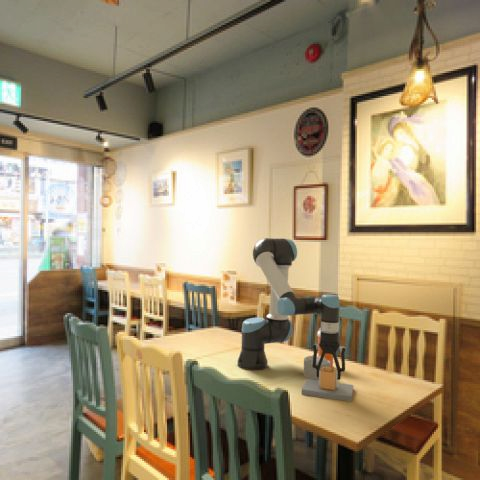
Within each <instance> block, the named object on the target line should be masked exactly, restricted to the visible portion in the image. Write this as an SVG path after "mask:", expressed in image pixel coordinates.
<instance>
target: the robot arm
mask: <svg viewBox="0 0 480 480" xmlns="http://www.w3.org/2000/svg"><path fill="white" fill-rule="evenodd" d="M252 249H253V250H252V259H253V261H254V263H255V265H256V266H257V267H259V268H260V269H261V271H262V273H263V275H264V278H266V280H267V281H268V283H269V285H270V297H269V313H268V314H267V315H266V317H265V318H263V317H251V318H246V319H245V320H244V321H243V322H242V325H241V350H240V354H239V357H238V358H237V366H238V367H239V368H241V369H243V370H249V371H250V370H251V371H252V370H253V371H256V370H257V371H258V370H264V369H266V368H267V367H268V359H267V355H266V352H265V345H266V344H275V343H276V344H277V343H280V344H281V343H284V342H285V343H286V342H288V341H290V339H291V337H292V335H293V330H294V328H293V327H294V326H293V325H292V324H293V323H292V321H291V320H290V319H289V318H290V317H291V316H297V315H298V316H299V315H313V314H314V315H319V316H320V327H321V330H322V331H321V335H320V343H319V344H318V343H313V345H312V348H313V354H312V355H313V365H312V367H313V368H315V369H316V370H317V377H319V386H320V373H321V369H320V366H321V364H322V361H323V358H324V355H325V354H332V355H333V362H334V364H335V367H336V368H335V369H337V371H336V380H335V388H337V387H338V383H339V382H338V381H339V380H341V375H342V372H343V373H344V372H345V371H346V362H345V361H346V356H345V355H346V354H345V352H346V346H342V345H340V343H339V340H340V339H339V338H340V337H339V336H340V334H339V330H340V329H339V328H340V308H341V306H340V297H339V295H336V294H329V293H327V294H322V295H321V297H320V296H317V295H307V296H301V297H300V296H298V297H297V296H296V294H295V292H294V291H293V289H292V288H291V286H290V284H289V282H288V281H289V269H290V267H291V266H292V265H293V262H294V261H296V259H297V257H298V248H297V245H296V244H295V242H294V241H293V240H292V239H290V238H271V237H270V238H268V237H266V238H261V239H260V240H258V241H256V243H255V245H254V247H253V248H252ZM289 316H290V317H289ZM319 346H320V348H321V349H322V351H323V352H322V355H321V357H320V360H319V363H318V365H316V360H317V357H318V348H319ZM338 350H339V351H340V356H341V357H340V358H341V359H340V360H341V365H340V361H339V359H338V355H337V351H338Z"/></svg>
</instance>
